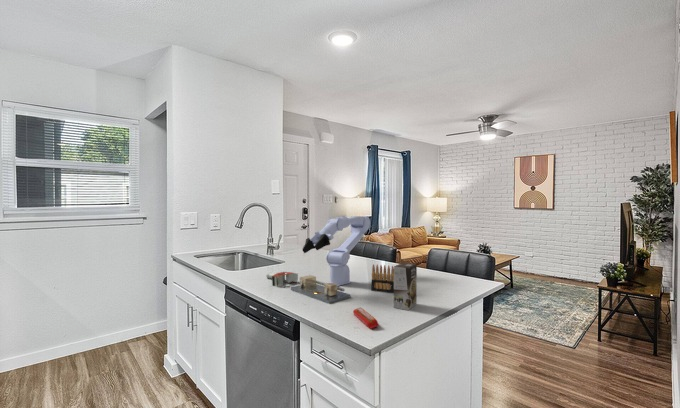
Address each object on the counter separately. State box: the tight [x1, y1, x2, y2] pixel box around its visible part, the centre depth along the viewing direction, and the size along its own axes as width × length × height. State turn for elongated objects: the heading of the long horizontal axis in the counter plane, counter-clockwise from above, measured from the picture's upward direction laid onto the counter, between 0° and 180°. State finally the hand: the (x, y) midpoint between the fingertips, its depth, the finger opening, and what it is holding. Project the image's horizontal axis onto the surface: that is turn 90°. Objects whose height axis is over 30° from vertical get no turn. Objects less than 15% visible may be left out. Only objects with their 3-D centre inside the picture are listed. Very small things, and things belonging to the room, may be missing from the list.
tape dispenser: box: [266, 271, 299, 288], centre depth 169 cm, size 18×5×20 cm
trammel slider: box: [324, 283, 338, 296], centre depth 142 cm, size 4×4×4 cm
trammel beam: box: [299, 274, 346, 292], centre depth 149 cm, size 7×24×4 cm, turn 42°
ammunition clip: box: [370, 264, 394, 294], centre depth 151 cm, size 11×2×12 cm, turn 68°
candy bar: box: [353, 307, 380, 330], centre depth 116 cm, size 16×4×3 cm, turn 19°
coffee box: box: [393, 262, 418, 311], centre depth 131 cm, size 9×6×16 cm
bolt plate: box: [290, 283, 352, 304], centre depth 148 cm, size 12×27×1 cm, turn 42°
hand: (309, 249), depth 146 cm, fingers open, 7 cm apart
